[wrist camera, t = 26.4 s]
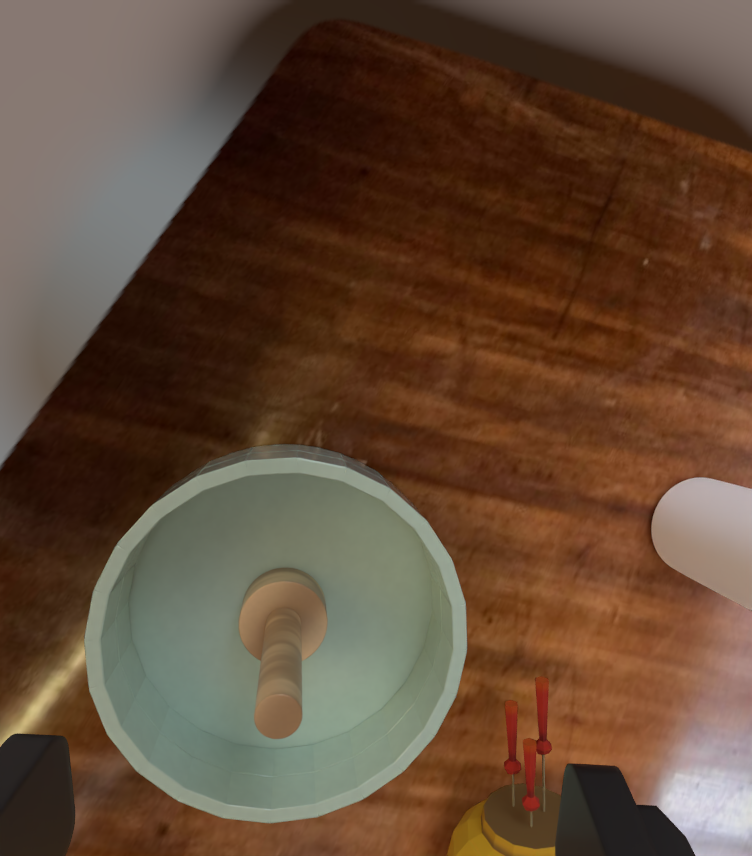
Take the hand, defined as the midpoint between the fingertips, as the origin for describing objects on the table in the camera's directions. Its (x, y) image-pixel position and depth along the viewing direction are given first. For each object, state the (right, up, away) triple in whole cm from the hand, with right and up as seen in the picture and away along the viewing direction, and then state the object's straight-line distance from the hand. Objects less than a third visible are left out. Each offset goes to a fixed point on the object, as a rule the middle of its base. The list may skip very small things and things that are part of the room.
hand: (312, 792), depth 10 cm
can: (+22, 0, +31) cm, 38 cm away
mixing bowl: (-5, -5, +28) cm, 29 cm away
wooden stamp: (-5, -5, +28) cm, 29 cm away
